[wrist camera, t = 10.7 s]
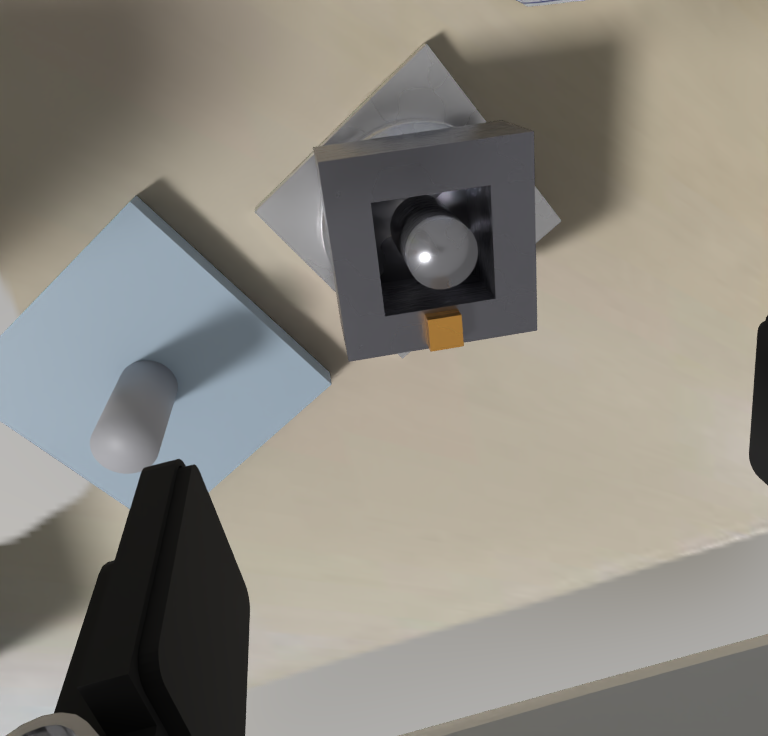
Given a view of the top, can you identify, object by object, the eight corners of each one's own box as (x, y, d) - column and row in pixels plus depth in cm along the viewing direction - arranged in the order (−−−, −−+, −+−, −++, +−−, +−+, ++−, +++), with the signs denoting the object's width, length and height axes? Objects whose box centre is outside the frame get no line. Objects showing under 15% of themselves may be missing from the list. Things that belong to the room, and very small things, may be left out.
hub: (255, 207, 27) (248, 250, 21) (422, 43, 25) (463, 43, 20) (399, 351, 31) (426, 420, 25) (554, 216, 29) (621, 258, 23)
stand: (-38, 374, 28) (-111, 450, 23) (135, 195, 26) (98, 233, 21) (167, 516, 33) (145, 607, 28) (329, 372, 31) (339, 441, 25)
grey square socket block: (312, 147, 24) (318, 165, 20) (501, 120, 25) (540, 133, 21) (341, 325, 27) (350, 368, 24) (508, 298, 28) (542, 336, 24)
